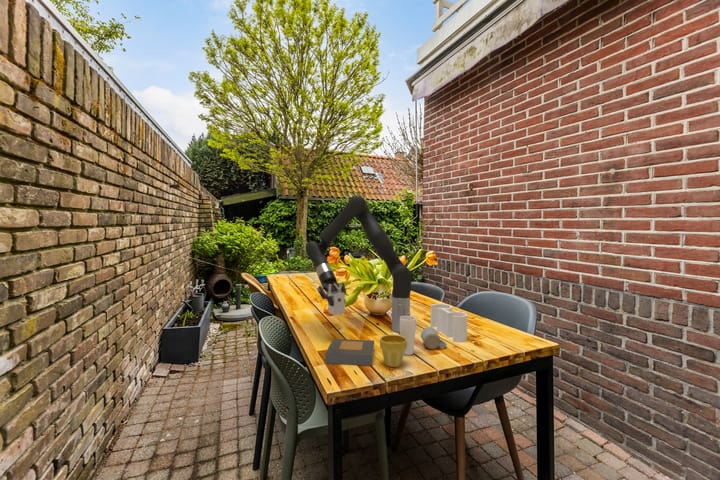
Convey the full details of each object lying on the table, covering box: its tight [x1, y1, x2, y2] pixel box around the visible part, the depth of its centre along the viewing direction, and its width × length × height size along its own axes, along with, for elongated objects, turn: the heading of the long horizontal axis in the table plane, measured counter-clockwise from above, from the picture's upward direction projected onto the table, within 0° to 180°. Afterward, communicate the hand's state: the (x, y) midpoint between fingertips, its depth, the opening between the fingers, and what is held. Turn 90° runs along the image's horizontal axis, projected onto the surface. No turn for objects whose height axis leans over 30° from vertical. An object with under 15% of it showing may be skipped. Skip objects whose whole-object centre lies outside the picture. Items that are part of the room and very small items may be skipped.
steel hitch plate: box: [324, 338, 375, 367], centre depth 130 cm, size 18×16×4 cm
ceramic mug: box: [420, 326, 447, 350], centre depth 141 cm, size 11×8×8 cm
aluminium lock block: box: [327, 290, 346, 316], centre depth 146 cm, size 6×6×10 cm
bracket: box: [430, 303, 468, 343], centre depth 159 cm, size 25×10×12 cm, turn 13°
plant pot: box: [379, 334, 407, 368], centre depth 123 cm, size 10×10×10 cm
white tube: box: [399, 315, 417, 356], centre depth 133 cm, size 7×7×15 cm
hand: (338, 304), depth 145 cm, fingers closed on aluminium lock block, 5 cm apart
